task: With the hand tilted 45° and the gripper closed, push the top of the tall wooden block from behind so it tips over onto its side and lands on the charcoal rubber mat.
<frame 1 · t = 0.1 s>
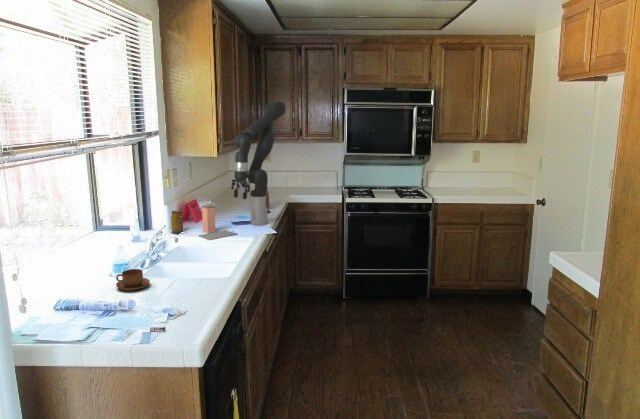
hand: (240, 198, 279), 17 cm above the table, tool pointing down, fingers open, 8 cm apart
condiment: (178, 232, 269), on the table
block: (209, 231, 271), on the table
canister: (260, 208, 339), on the table
mat: (218, 235, 263), on the table
cup and saucer: (133, 287, 185), on the table
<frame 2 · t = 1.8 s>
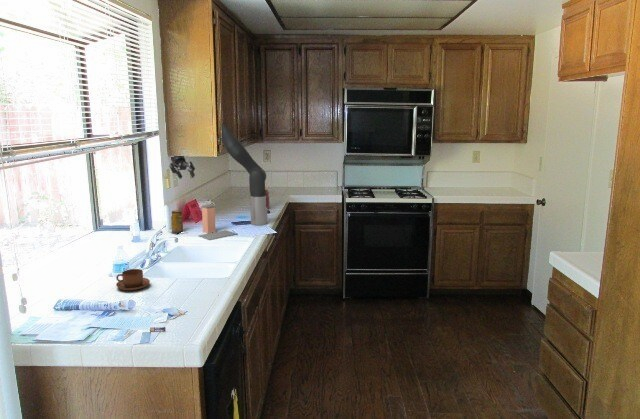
hand: (187, 177, 279), 29 cm above the table, tool tilted 45°, fingers open, 7 cm apart
nothing on the table moved.
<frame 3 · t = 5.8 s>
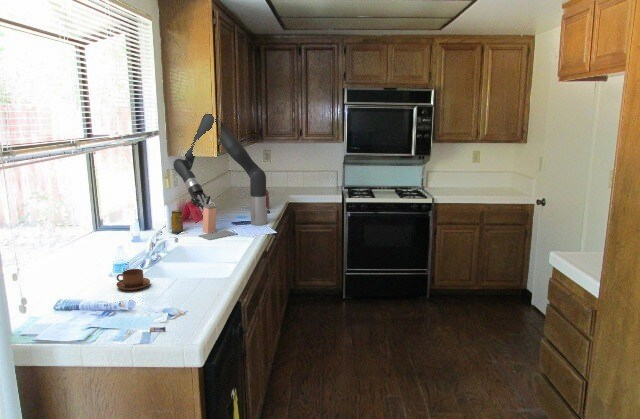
hand: (206, 211, 270), 11 cm above the table, tool tilted 45°, fingers closed
block: (209, 231, 271), on the table, tilted 6°
everything else where it was.
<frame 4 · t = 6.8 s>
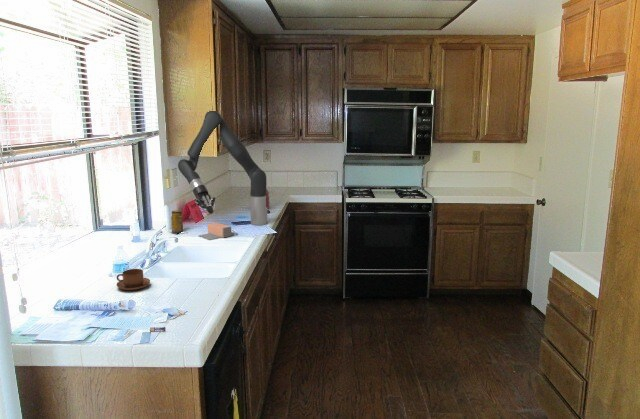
hand: (211, 212, 266), 11 cm above the table, tool tilted 45°, fingers closed
block: (211, 227, 269), point 3 cm above the table, tilted 90°, touching mat
everything else where it was.
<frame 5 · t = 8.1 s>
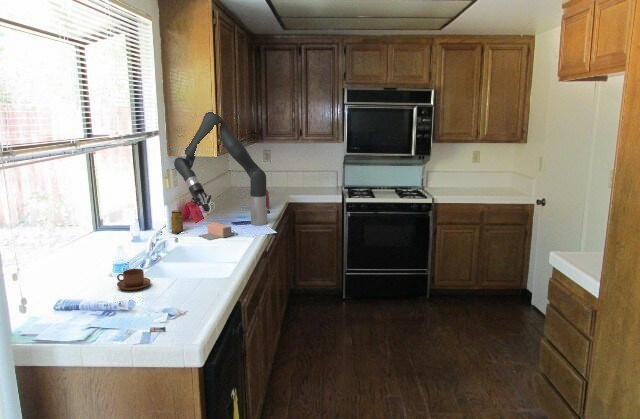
hand: (207, 210, 269), 12 cm above the table, tool tilted 45°, fingers closed
nothing on the table moved.
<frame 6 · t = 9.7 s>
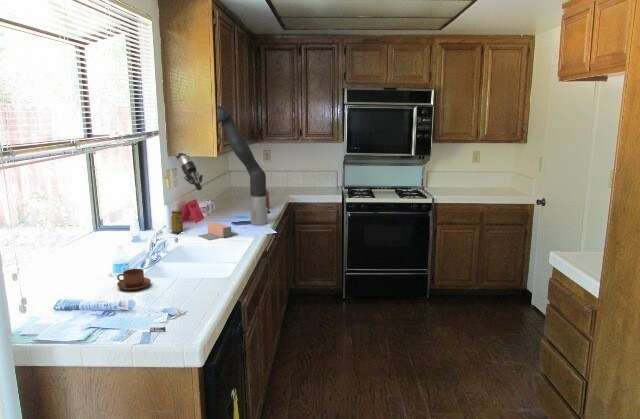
hand: (200, 189, 275), 23 cm above the table, tool tilted 40°, fingers closed
nothing on the table moved.
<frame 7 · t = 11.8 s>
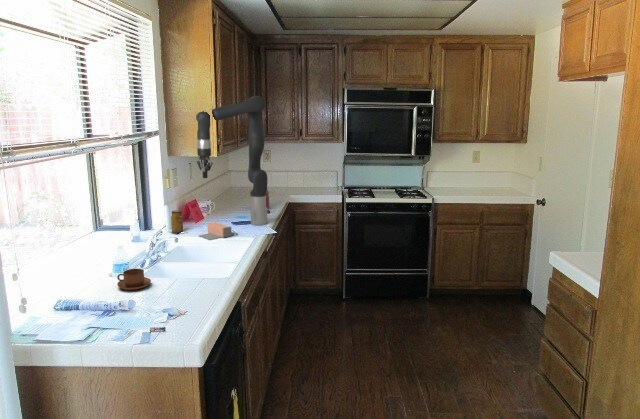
hand: (205, 178, 275), 29 cm above the table, tool pointing down, fingers closed
nothing on the table moved.
at the end: block tilted 90°; block touching mat; block inside the target area (4.1 cm from its centre), point 3.0 cm above the table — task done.
